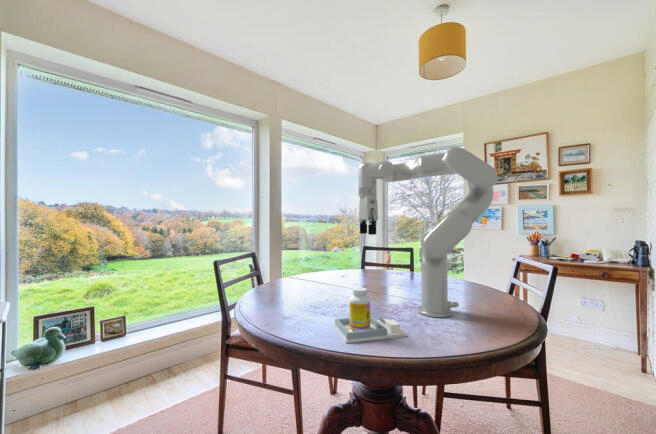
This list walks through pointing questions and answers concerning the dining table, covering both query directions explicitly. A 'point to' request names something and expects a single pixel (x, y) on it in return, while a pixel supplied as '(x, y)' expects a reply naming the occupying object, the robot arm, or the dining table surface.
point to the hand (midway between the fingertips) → (367, 233)
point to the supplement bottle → (359, 310)
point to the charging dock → (376, 331)
